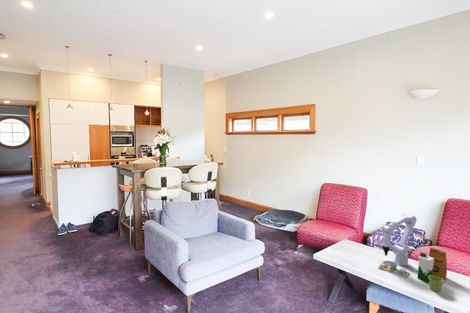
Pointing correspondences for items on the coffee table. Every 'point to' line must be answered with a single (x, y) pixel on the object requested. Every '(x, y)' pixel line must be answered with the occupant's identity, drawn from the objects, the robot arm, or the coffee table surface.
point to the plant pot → (435, 283)
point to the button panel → (393, 270)
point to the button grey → (393, 267)
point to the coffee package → (439, 263)
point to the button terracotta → (384, 265)
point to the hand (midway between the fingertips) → (386, 255)
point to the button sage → (403, 271)
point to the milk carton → (425, 267)
